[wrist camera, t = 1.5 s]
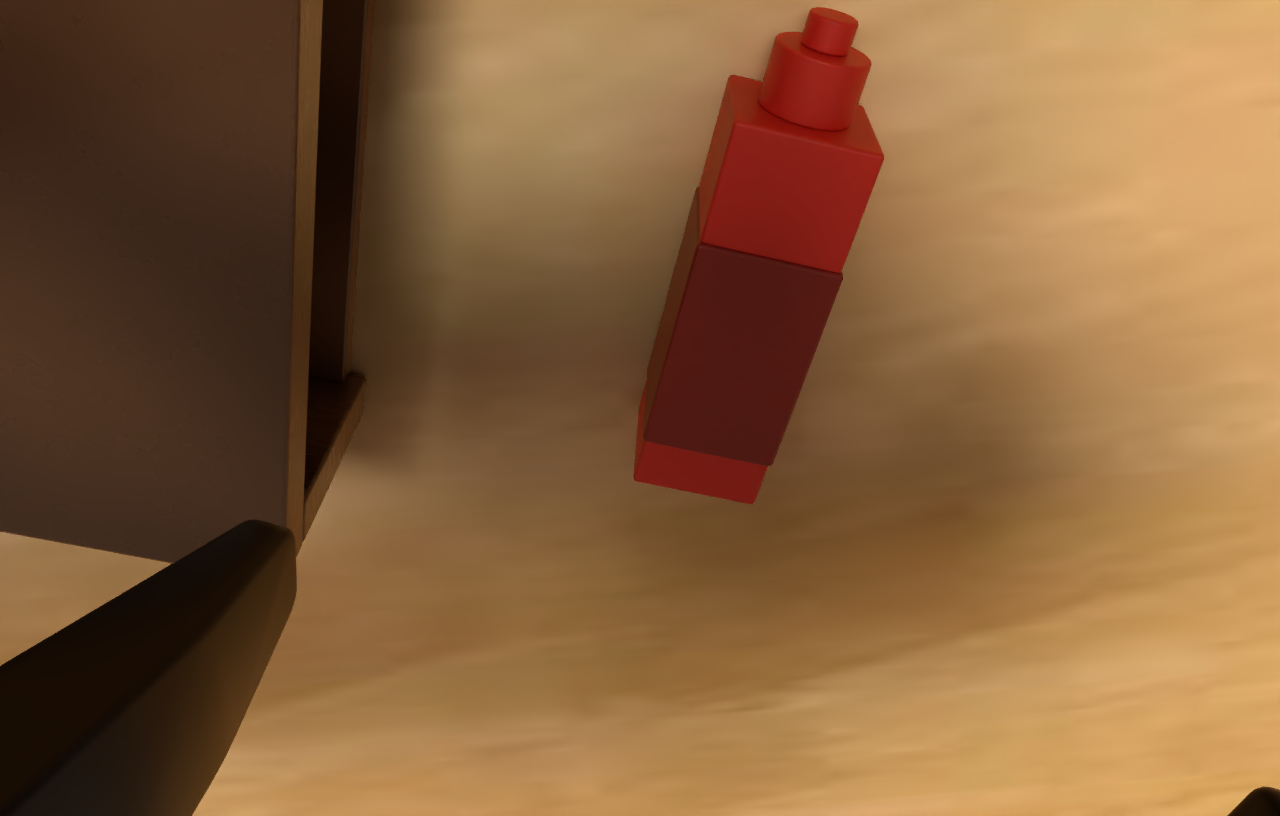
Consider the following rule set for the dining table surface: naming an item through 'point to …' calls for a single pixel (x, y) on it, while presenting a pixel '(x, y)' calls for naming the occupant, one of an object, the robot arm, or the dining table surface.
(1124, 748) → the dining table surface
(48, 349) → the shelf
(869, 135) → the red square bottle
